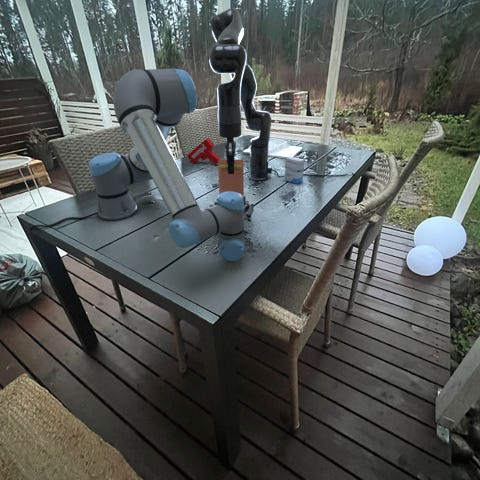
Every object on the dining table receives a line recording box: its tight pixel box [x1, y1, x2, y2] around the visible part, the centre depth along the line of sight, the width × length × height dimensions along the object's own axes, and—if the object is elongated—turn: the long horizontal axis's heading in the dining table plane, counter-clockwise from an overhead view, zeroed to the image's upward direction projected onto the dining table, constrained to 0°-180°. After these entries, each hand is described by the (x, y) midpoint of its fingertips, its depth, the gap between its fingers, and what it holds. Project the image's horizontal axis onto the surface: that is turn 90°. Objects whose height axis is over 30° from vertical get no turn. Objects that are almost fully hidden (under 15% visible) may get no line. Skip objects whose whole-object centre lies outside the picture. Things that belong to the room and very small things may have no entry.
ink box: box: [284, 156, 306, 185], centre depth 140 cm, size 8×5×12 cm, turn 47°
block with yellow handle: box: [217, 159, 245, 196], centre depth 100 cm, size 13×10×8 cm
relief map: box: [242, 138, 304, 160], centre depth 192 cm, size 27×35×5 cm
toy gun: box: [186, 137, 221, 166], centre depth 168 cm, size 18×4×15 cm
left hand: (231, 199), depth 110 cm, fingers closed on chest, 9 cm apart
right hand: (231, 172), depth 97 cm, fingers closed on block with yellow handle, 2 cm apart
